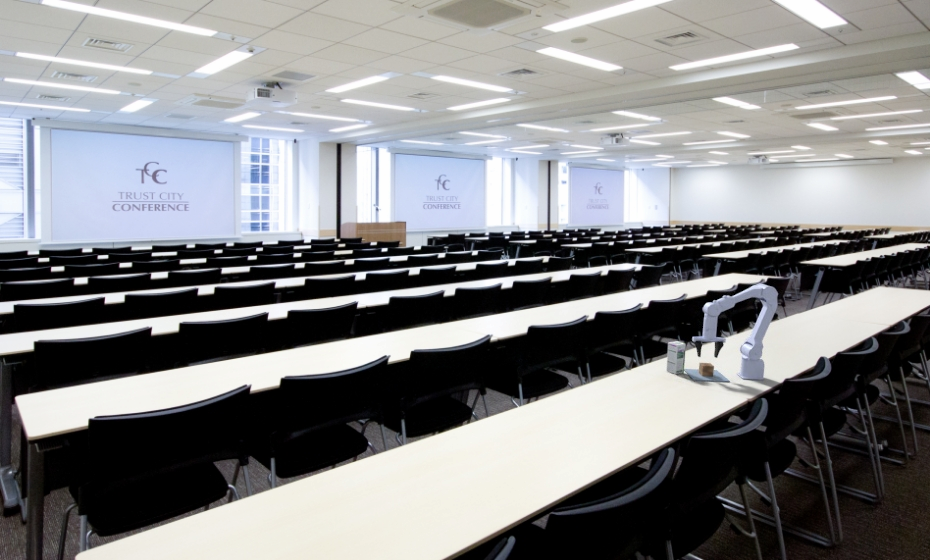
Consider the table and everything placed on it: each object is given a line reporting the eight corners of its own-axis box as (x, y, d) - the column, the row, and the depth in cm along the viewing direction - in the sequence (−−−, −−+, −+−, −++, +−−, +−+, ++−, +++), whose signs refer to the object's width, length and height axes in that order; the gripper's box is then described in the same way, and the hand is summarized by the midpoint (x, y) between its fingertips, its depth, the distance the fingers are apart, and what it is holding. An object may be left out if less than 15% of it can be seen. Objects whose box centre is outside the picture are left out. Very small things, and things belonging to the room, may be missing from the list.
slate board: (716, 371, 281) (716, 370, 281) (729, 382, 266) (729, 380, 266) (682, 370, 282) (683, 368, 282) (693, 380, 267) (693, 379, 266)
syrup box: (675, 374, 275) (677, 344, 273) (665, 371, 280) (668, 341, 278) (684, 373, 277) (686, 343, 275) (674, 369, 283) (676, 340, 280)
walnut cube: (709, 373, 276) (710, 363, 275) (713, 376, 271) (714, 366, 270) (698, 372, 276) (699, 362, 276) (702, 376, 271) (703, 365, 271)
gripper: (696, 329, 267) (694, 358, 269) (729, 331, 266) (726, 359, 268) (691, 326, 274) (689, 354, 276) (723, 327, 273) (720, 355, 275)
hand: (707, 356), depth 273 cm, fingers open, 7 cm apart
